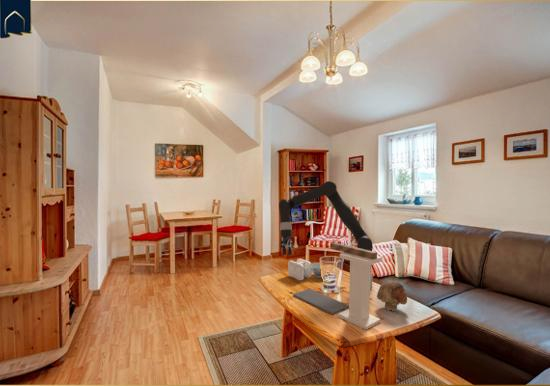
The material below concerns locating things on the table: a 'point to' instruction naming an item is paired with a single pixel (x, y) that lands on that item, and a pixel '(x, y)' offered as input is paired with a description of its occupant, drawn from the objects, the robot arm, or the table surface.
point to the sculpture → (392, 294)
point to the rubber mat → (321, 301)
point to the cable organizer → (299, 269)
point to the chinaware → (316, 269)
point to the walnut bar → (354, 250)
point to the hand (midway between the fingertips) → (287, 255)
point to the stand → (359, 291)
